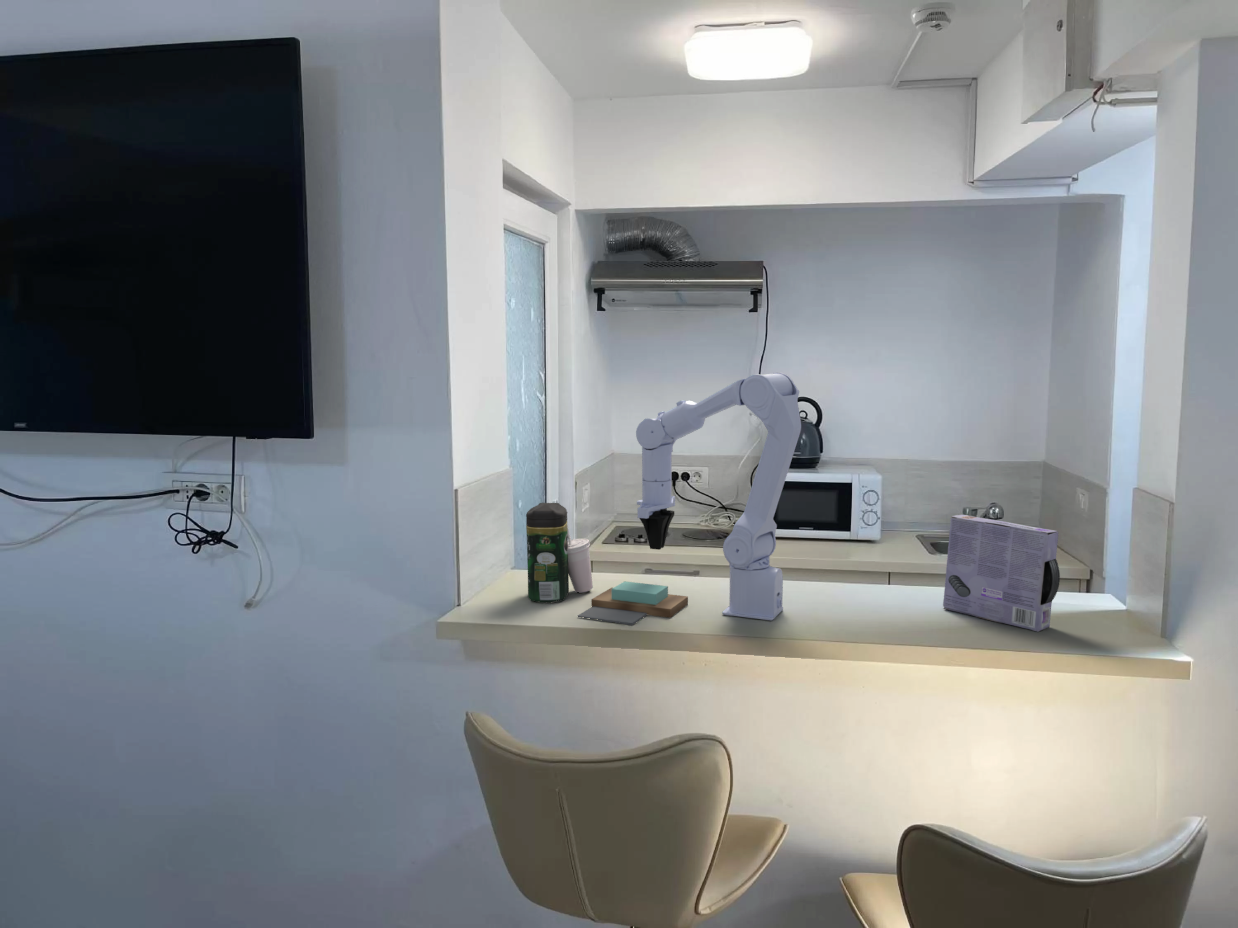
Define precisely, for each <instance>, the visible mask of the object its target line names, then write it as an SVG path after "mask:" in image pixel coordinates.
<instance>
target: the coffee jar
mask: <svg viewBox="0 0 1238 928" xmlns="http://www.w3.org/2000/svg"><path fill="white" fill-rule="evenodd" d="M525 514H526V515H525V517H526V518H525V520H526V523H525V524H526V525H525V526H526V528H525V529H526V554H527V555H526V556H527V560H526V561H527V598H528V599H529V600H530V601H531V602H536V603H539V604H552V603H556V602H563V601H564V600H565V599H566V598H567V597H568V595H569V591H570V590H569V589H570V586H569V583H570V582H569V579H570V577H569V574H568V530H567V525H568V511H567V509H566V507H564V506H563V505H561V504H560V502H540V503H538V504H537V505H535V506H533V507H531V508H530V509H528V510H527V512H526V513H525ZM551 602H552V603H551Z"/></svg>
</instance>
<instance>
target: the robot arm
mask: <svg viewBox="0 0 1238 928" xmlns="http://www.w3.org/2000/svg"><path fill="white" fill-rule="evenodd" d="M799 394H800V390H799V389H798V387H797V385H796V384H795V383H794V381H793V379H792V378H791V377H790V376H789V375H787V374H786V373H784V372H773V373H767V374H759V373H757V374H756V373H755V374H752V375H749V376H747V377H746V378H741V379H738V380H735V381H734V382H732V383H731V384H729V385H727V386H725V387H723V388H722V389H719V390H718V391H716V392H715V393H713V394H711V395H709V396H708V397H705V398H703V399H702V400H700V401H698V402H696V401H692V400H685V399H683V400H679V401H677V402H676V403H675V404H676V406H674V407H672V408H671V409H669V410H667V411H664V410H662V411H660V412H658V413H657V417H656V418H651V417H646V418H644V419H643V420H642V421H641V422H640V423H639V424H638V425H637V428H636V431H635V435H636V436H635V437H636V441H637V442H638V444H639V445H640V446H641V464H642V465H641V477H642V478H641V482H642V483H641V484H642V486H641V488H642V489H641V490H642V491H641V495H642V496H641V497H642V498H641V499H639V500H636V506H639V507H637V519H639V520H640V522H641V524H642V525H643V527H644V530H645V534H646V538H647V541H648V545H649V548H650V550H661V549H663V548H665V545H666V541H667V535H668V531H669V527H670V525H671V523H672V520H673V518H674V516H675V511H674V510H670V509H669V508H672V507H675V506H676V496H675V495H672V486H673V485H672V482H673V481H672V472H673V471H672V466H673V465H672V457H673V456H672V453H673V452H674V451H673V450H674V449H673V446H674V444H675V443H676V441H678V440H680V439H681V438H684V437H686V436H688V435H689V434H691V433H694V432H697V431H698V430H700V429H702V428H703V426H704V424H705V421H706V419H707V418H709V417H711V416H715V415H716V414H718V413H721V412H723V411H726V410H728V409H730V408H732V407H734V406H739V407H741V406H746V408H747V409H748V410H749V411H750V412H752V413H753V414H754V415H755V416H756V417H757V418H758V419H759V420H760V421H761V422H762V424H763V425H764V427H765V429H766V430H767V436H766V439H765V441H764V445H763V447H762V452H761V455H760V458H759V462H758V465H757V468H756V471H755V475H754V478H753V482H752V485H751V488H750V491H749V495H748V496H747V497H748V498H747V501H746V505H745V508H744V511H743V513H742V514H741V516H740V517H739V518H738V519H737V521H736V522H735V523H734V525H733V528H732V531H731V533H729V535H728V536H727V537H726V538H725V539H724V542H723V544H722V553H723V555H724V558H725V559H726V561H727V562H728V564H729V606H727V607H726V608H725V609H724V610H723V611H722V612H721V614H722V615H724V616H731V617H742V618H748V619H756V620H757V619H758V620H764V621H766V620H767V621H773V620H774V619H776V617H777V616H778V615H779V614H780V613H781V612H782V611H783V610H784V607H783V593H784V592H783V591H784V590H783V587H784V586H783V584H784V579H783V578H784V577H783V570H782V569H781V568H778V567H775V566H771V565H770V557H771V556H772V555H773V553H774V552H775V549H776V547H777V540H776V530H777V527H778V524H777V523H776V522H775V520H774V517H775V513H776V511H777V508H778V505H779V501H780V498H781V495H782V491H783V488H784V485H785V482H786V479H787V476H788V472H789V469H790V466H791V462H792V459H793V457H794V453H795V451H796V450H795V449H796V446H797V443H798V441H799V437H800V434H801V431H802V422H801V420H802V419H801V413H800V408H799V403H798V399H799V396H800V395H799ZM668 509H669V510H668Z"/></svg>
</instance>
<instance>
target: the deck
mask: <svg viewBox="0 0 1238 928" xmlns="http://www.w3.org/2000/svg"><path fill="white" fill-rule="evenodd" d="M612 588H613V587H610V588H609V589H607V590H605V591H603V592H601V593H599V594H598V595H596V596H594V597H593V598H591V599H590V600H591V601H590V602H591V606H592V607H593V606H597V607H605V608H612V609H620V610H628V611H636V612H644V613H647V616H654V617H661V618H669V619H670V618H672V617H674V616H675V615H677V613H679V612H680V611H681V610H683V609H684V608H685V607H687V606H688V605H689V596H687V595H677V594H671V593H670V594H669V593H668V597H666V598H665V599H664V600H662V601H661V602H659V603H658V604H656V605H653V604H645V603H637V602H629V601H621V600H613V599H612ZM591 606H590V607H591Z"/></svg>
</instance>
